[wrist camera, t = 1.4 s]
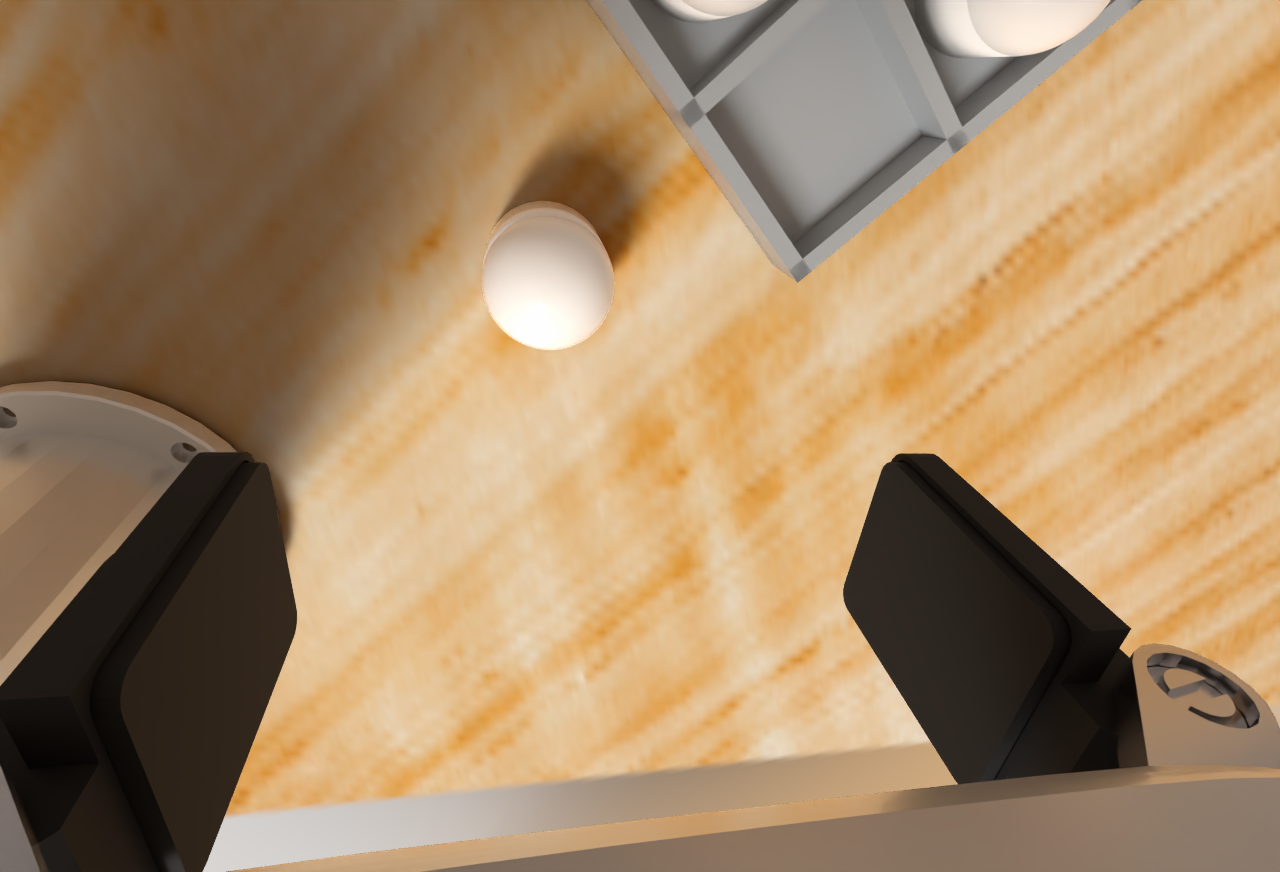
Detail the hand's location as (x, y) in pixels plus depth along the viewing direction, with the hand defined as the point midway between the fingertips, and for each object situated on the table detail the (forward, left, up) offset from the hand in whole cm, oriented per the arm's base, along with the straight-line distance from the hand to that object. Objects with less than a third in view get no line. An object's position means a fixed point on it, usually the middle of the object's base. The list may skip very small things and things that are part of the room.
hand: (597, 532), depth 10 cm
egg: (0, 0, -16) cm, 16 cm away
